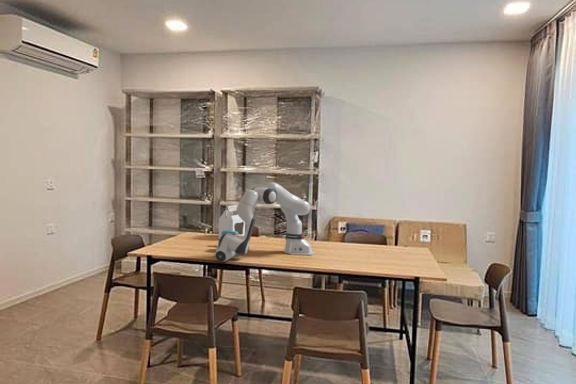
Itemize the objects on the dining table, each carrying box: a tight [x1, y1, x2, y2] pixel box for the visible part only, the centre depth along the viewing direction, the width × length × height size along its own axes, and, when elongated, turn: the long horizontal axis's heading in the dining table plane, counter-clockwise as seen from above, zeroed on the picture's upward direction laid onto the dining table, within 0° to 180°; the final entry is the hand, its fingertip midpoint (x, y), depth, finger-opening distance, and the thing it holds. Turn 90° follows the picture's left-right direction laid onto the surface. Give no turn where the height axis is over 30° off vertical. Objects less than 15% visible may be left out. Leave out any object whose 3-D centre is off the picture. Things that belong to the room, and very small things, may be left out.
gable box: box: [218, 204, 246, 241], centre depth 365 cm, size 22×13×28 cm, turn 158°
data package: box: [222, 230, 238, 235], centre depth 329 cm, size 12×4×12 cm, turn 74°
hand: (235, 247), depth 298 cm, fingers closed
